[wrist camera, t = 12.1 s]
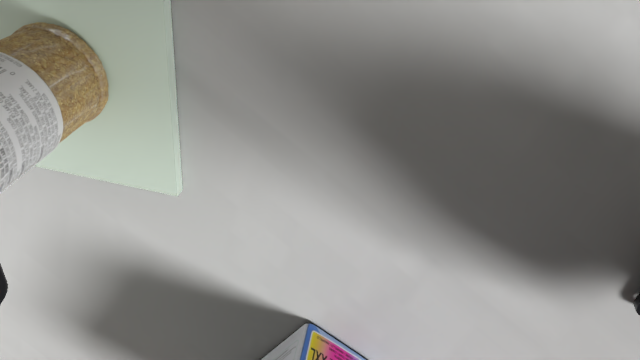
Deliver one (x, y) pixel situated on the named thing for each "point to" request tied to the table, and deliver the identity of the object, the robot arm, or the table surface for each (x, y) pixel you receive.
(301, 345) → the ink cartridge box
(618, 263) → the table surface
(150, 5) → the pad
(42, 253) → the table surface
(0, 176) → the sprinkles bottle
